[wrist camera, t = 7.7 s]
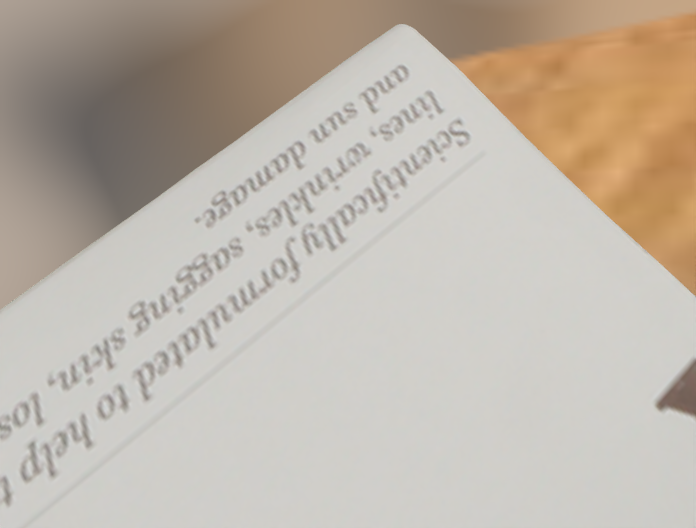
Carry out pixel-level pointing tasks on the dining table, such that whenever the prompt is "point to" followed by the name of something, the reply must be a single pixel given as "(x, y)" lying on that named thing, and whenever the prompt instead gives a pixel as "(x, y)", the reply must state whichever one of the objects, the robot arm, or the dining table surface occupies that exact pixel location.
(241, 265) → the skincare box
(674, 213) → the dining table surface
